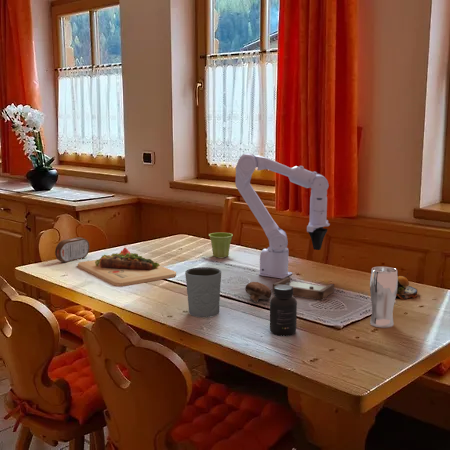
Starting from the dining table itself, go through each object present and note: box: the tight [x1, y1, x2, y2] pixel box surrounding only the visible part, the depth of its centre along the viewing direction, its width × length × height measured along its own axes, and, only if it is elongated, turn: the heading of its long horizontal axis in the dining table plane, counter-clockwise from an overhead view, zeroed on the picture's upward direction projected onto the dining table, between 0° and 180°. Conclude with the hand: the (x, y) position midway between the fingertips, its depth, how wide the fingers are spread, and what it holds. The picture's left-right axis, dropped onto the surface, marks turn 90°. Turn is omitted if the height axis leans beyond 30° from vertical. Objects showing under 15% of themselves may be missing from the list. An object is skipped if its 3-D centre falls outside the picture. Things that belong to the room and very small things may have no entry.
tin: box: [54, 236, 90, 263], centre depth 233 cm, size 15×3×8 cm, turn 144°
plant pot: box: [208, 232, 234, 259], centre depth 240 cm, size 9×9×9 cm
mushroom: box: [244, 281, 272, 303], centre depth 182 cm, size 8×8×6 cm
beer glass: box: [369, 266, 398, 329], centre depth 160 cm, size 7×7×15 cm
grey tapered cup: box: [185, 266, 222, 318], centre depth 170 cm, size 10×10×12 cm
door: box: [290, 280, 325, 290], centre depth 192 cm, size 12×7×2 cm, turn 57°
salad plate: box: [396, 272, 418, 300], centre depth 189 cm, size 12×12×8 cm
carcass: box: [272, 276, 335, 301], centre depth 191 cm, size 16×10×3 cm, turn 59°
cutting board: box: [77, 247, 177, 287], centre depth 217 cm, size 35×23×8 cm
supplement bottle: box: [269, 285, 298, 337], centre depth 154 cm, size 7×7×12 cm
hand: (317, 249), depth 209 cm, fingers closed
